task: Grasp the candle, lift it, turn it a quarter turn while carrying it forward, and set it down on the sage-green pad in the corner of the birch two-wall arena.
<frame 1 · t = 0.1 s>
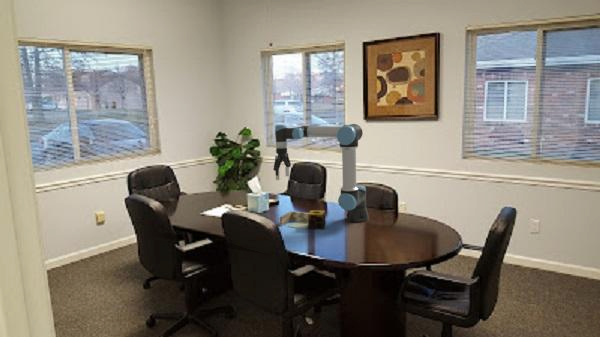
hand: (282, 178, 312), 28 cm above the table, fingers open, 13 cm apart
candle: (317, 227, 292), on the table
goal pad: (300, 225, 298), on the table
arena: (298, 224, 300), on the table
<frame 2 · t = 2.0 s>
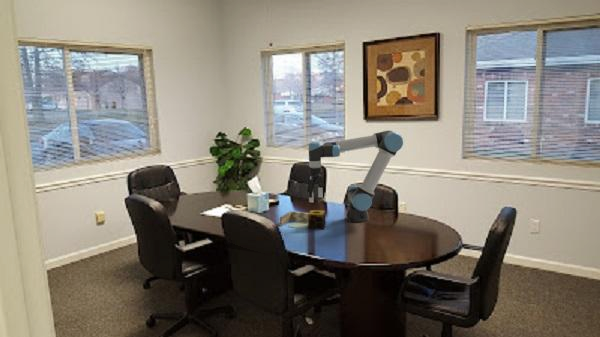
hand: (316, 199, 289), 18 cm above the table, fingers open, 13 cm apart
nothing on the table moved.
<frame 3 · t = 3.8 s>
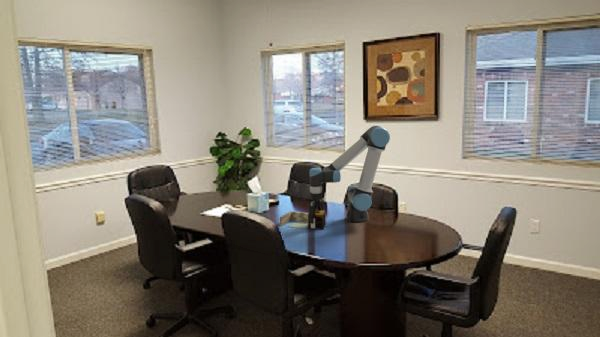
hand: (316, 225, 292), 1 cm above the table, fingers closed on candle, 11 cm apart
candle: (317, 227, 292), on the table, touching gripper
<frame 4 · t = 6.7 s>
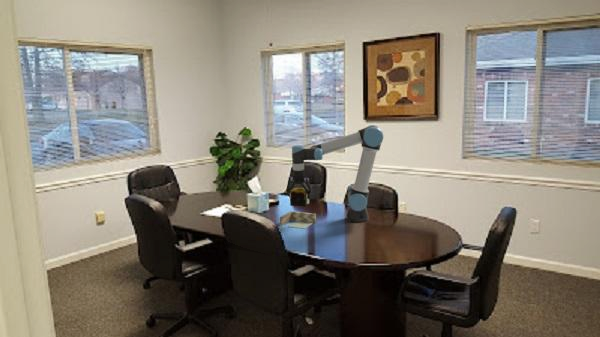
hand: (299, 202, 295), 15 cm above the table, fingers closed on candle, 11 cm apart
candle: (299, 204, 295), point 14 cm above the table, touching gripper
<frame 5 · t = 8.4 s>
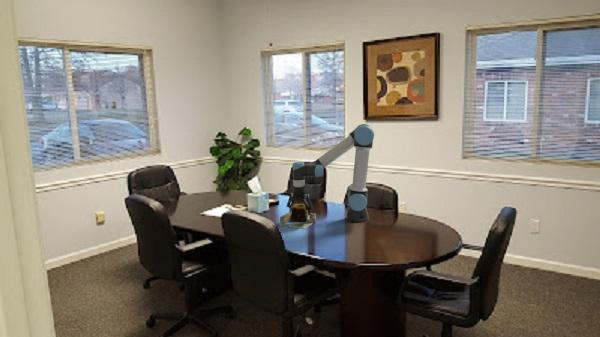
hand: (300, 218, 297), 4 cm above the table, fingers closed on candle, 11 cm apart
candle: (300, 220, 297), point 3 cm above the table, touching gripper
when the fingers open (3 cm above the table, at t = 9.7 s): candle drops 2 cm, resting on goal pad.
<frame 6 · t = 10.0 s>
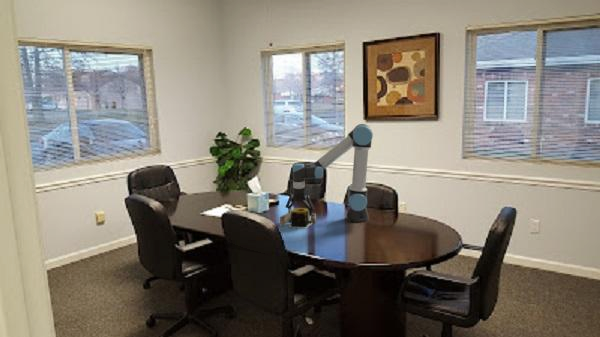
hand: (300, 219, 297), 4 cm above the table, fingers open, 13 cm apart
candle: (300, 225, 298), resting on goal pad
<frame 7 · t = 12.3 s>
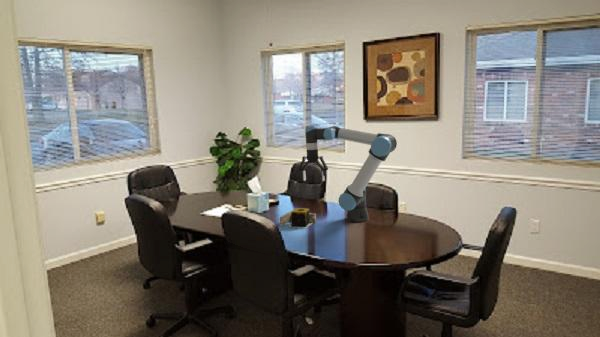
hand: (314, 180, 302), 28 cm above the table, fingers open, 13 cm apart
nothing on the table moved.
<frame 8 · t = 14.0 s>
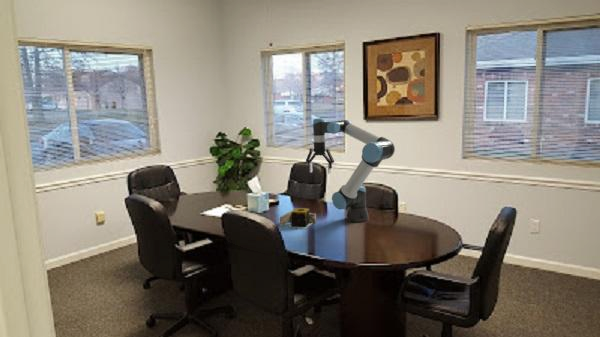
hand: (320, 172, 307), 32 cm above the table, fingers open, 13 cm apart
nothing on the table moved.
at the end: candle inside the target area on the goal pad (0.0 cm from its centre), point 0.1 cm above the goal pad's base; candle tilted 0°; the gripper is holding nothing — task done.
